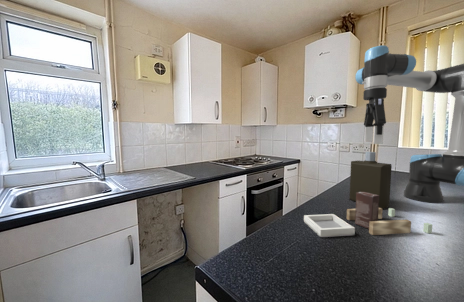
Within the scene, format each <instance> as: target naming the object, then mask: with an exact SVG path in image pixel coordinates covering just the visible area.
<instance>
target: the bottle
mask: <svg viewBox="0 0 464 302" xmlns="http://www.w3.org/2000/svg"><path fill="white" fill-rule="evenodd" d="M376 155H377V152H375V151H365V158H364V159H365V160H351V161H350V173H349V177H350V178H349V181H350V182H349V197H348V198H349V201H350V200H351V201H350V202H355V203H356V193H357V192H367V193H371V194H375V195H379V208H382V209H383V210H384V209H387V208H388V209H389V208H390V201H391V200H390V199H391V198H390V197H391V183H392V164H391V163H385V162H378V161H376Z"/></svg>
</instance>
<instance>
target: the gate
mask: <svg viewBox="0 0 464 302" xmlns="http://www.w3.org/2000/svg"><path fill="white" fill-rule="evenodd" d="M387 214H388V216H389V217H390V218H393V217H396V216H395V215H396V209H395V208H392V207H388V213H387ZM422 231H423V232H424V233H425V234H432V233H433V224H432V223H429V222H424V223H423V229H422Z"/></svg>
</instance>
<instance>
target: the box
mask: <svg viewBox="0 0 464 302" xmlns="http://www.w3.org/2000/svg"><path fill="white" fill-rule="evenodd" d="M355 209H356V211H355V220H354V225H358V226H360V227H363V228H366V229H368V230H369V221H379V219H378V211H379V195H375V194H371V193H367V192H357V193H356V202H355Z"/></svg>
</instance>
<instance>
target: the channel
mask: <svg viewBox="0 0 464 302" xmlns="http://www.w3.org/2000/svg"><path fill="white" fill-rule="evenodd" d="M383 210H384V209H382V208H379V211H378V221H369V229H368V233H369V234H370V235H371V236H379V235H381V236H382V235H396V234H397V235H398V234H410V233H411V232H412V231H411V229H412V220H409V219H391V220H382V219H383V212H384V211H383ZM355 211H356V208H347V209H346V220H348V221H355Z"/></svg>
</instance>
